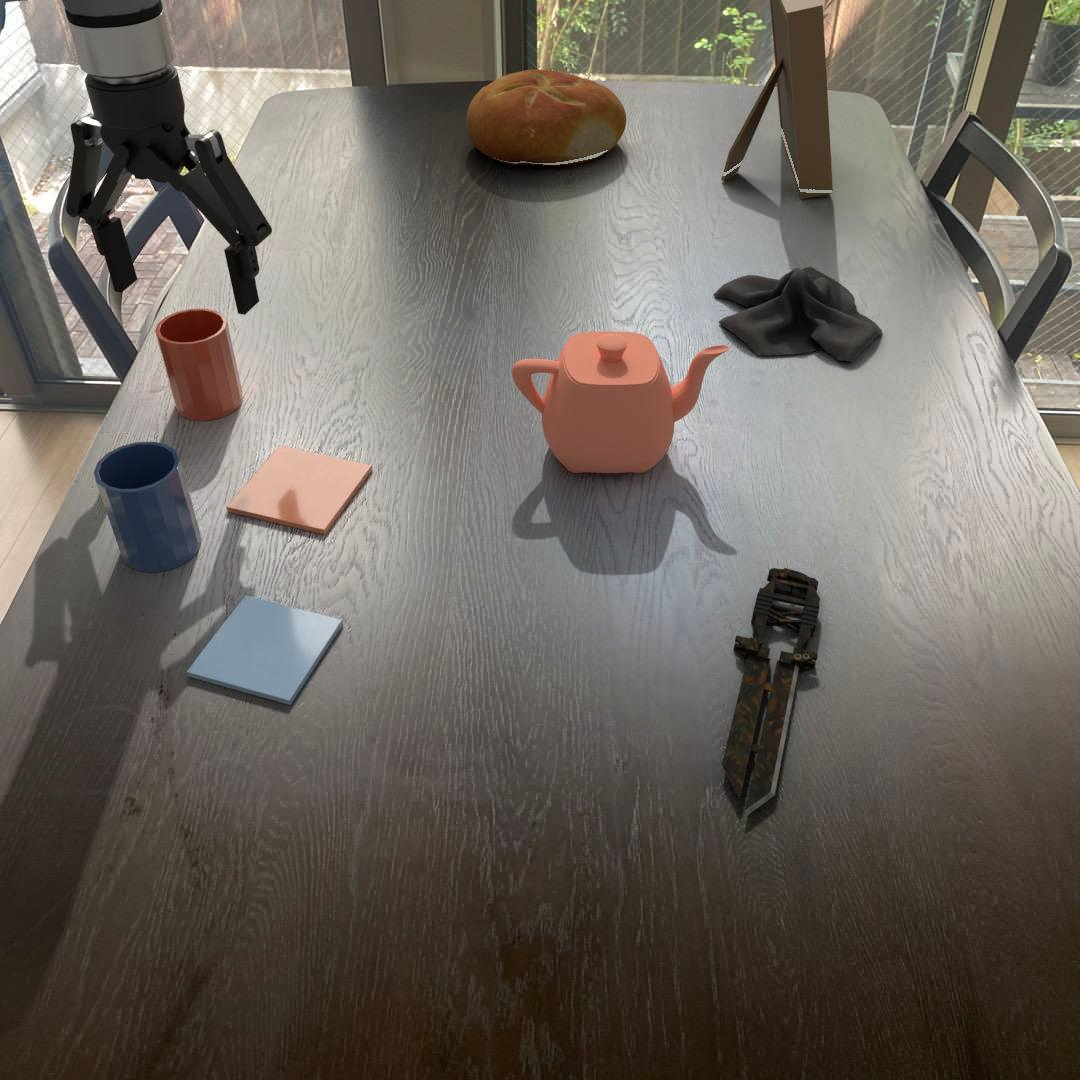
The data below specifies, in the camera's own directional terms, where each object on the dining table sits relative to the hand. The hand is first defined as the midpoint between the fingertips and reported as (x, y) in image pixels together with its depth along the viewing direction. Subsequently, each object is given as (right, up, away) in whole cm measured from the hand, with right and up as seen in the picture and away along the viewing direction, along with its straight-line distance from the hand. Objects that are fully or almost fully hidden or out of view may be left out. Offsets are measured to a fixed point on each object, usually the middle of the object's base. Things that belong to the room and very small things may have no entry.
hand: (186, 296), depth 104 cm
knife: (+52, -35, -21) cm, 66 cm away
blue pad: (+12, -32, -18) cm, 39 cm away
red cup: (0, -9, +8) cm, 12 cm away
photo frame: (+68, +31, +53) cm, 92 cm away
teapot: (+41, -14, +3) cm, 44 cm away
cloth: (+64, +3, +22) cm, 68 cm away
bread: (+35, +36, +59) cm, 77 cm away
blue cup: (+1, -24, -9) cm, 26 cm away
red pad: (+12, -19, -3) cm, 22 cm away
